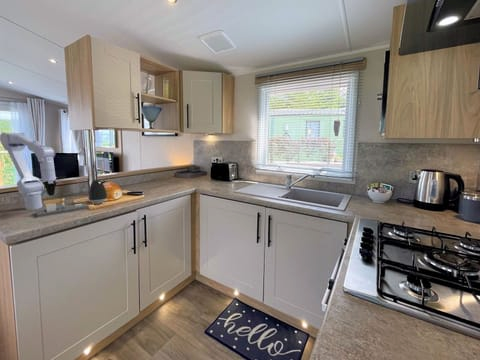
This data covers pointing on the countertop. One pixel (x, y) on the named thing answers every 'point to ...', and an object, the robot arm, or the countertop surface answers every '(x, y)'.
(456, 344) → the countertop surface
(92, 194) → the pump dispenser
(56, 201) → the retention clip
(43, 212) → the grey recessed block
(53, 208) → the plug
